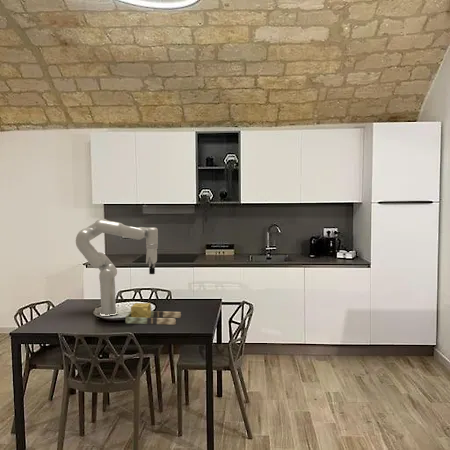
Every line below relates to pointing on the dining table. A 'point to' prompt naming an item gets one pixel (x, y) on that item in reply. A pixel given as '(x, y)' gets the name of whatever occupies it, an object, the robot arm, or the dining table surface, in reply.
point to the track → (168, 320)
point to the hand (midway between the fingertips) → (152, 273)
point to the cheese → (141, 310)
